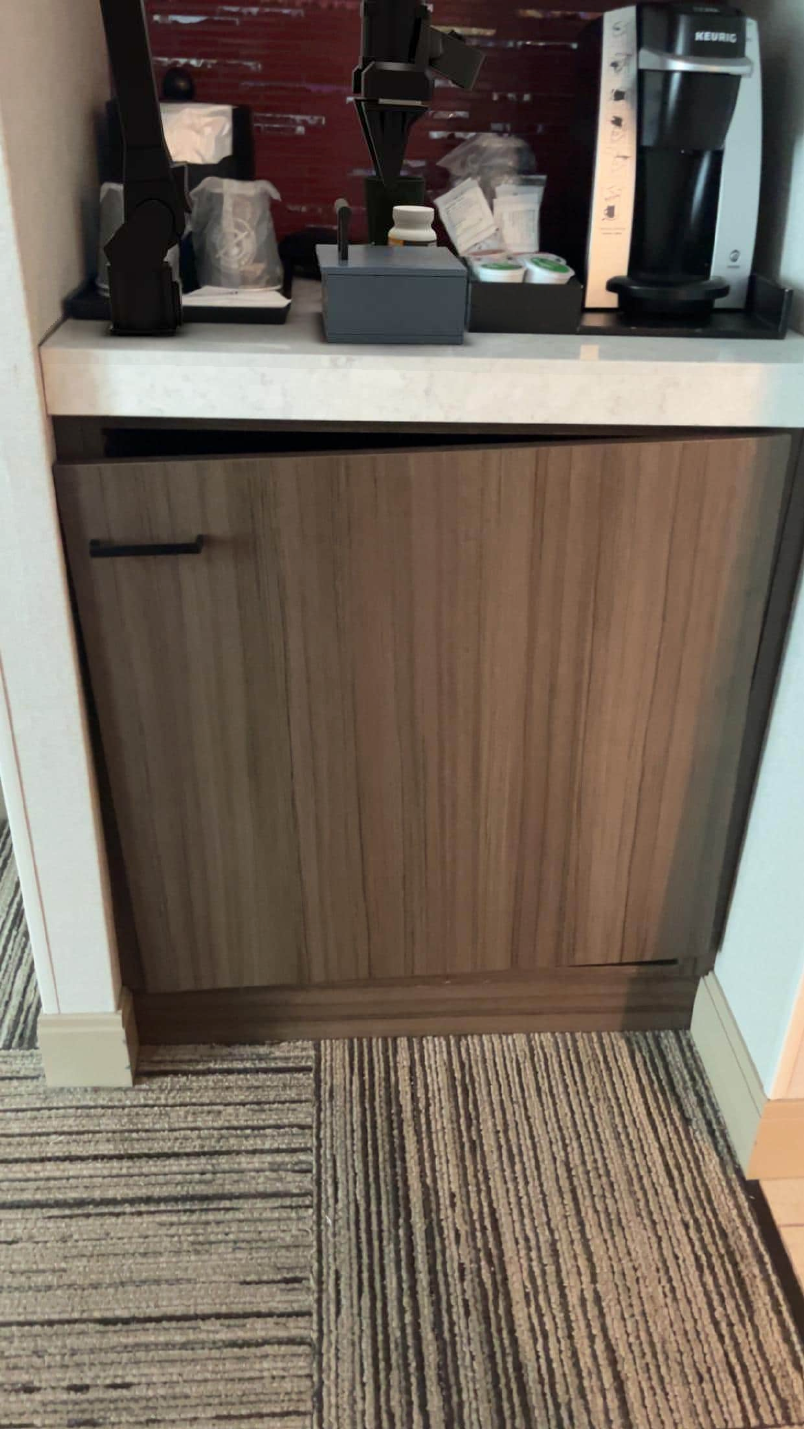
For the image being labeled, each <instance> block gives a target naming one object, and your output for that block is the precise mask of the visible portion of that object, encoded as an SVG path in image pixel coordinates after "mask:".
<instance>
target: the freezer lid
mask: <svg viewBox="0 0 804 1429" xmlns="http://www.w3.org/2000/svg"><path fill="white" fill-rule="evenodd" d="M333 206H334V207H333V208H334V210H335V212H336V215H337V244H318V243H317V244H315V253H316V258H317V262H318V264H319V265H318V266H320V267H319V270H320V274H321V275H322V274H345V275H402V276H459V277H467V276H468V269H467V267H465V265H464V264H463V263H462V262H461V261H460V260H459V259H458V258H457V256H455V255H454V254H453V253H452V252H451V250H449V248H448V247H447V246H436V247H416V246H368V245H353V244H349V221H351V219H352V218H353V210H352V209H351V207H350V205H349V202H348V201H347V200H346V199H345V198H338V199H336V200H335V202H334V205H333ZM348 244H349V245H348Z"/></svg>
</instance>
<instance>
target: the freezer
mask: <svg viewBox="0 0 804 1429" xmlns="http://www.w3.org/2000/svg"><path fill="white" fill-rule="evenodd" d="M467 282H468V278H467V276H466V277H459V276H402V275H345V274H321V315H322V321H323V326H324V330H325V336H326V341H327V343H329V344H330V343H331V344H332V343H333V344H334V343H335V344H336V343H337V344H338V343H339V344H342V343H343V344H422V345H423V344H425V345H426V344H428V345H430V344H431V345H432V344H433V345H434V344H435V345H463V344H464V332H465V331H464V330H465V313H466V296H467Z"/></svg>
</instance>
